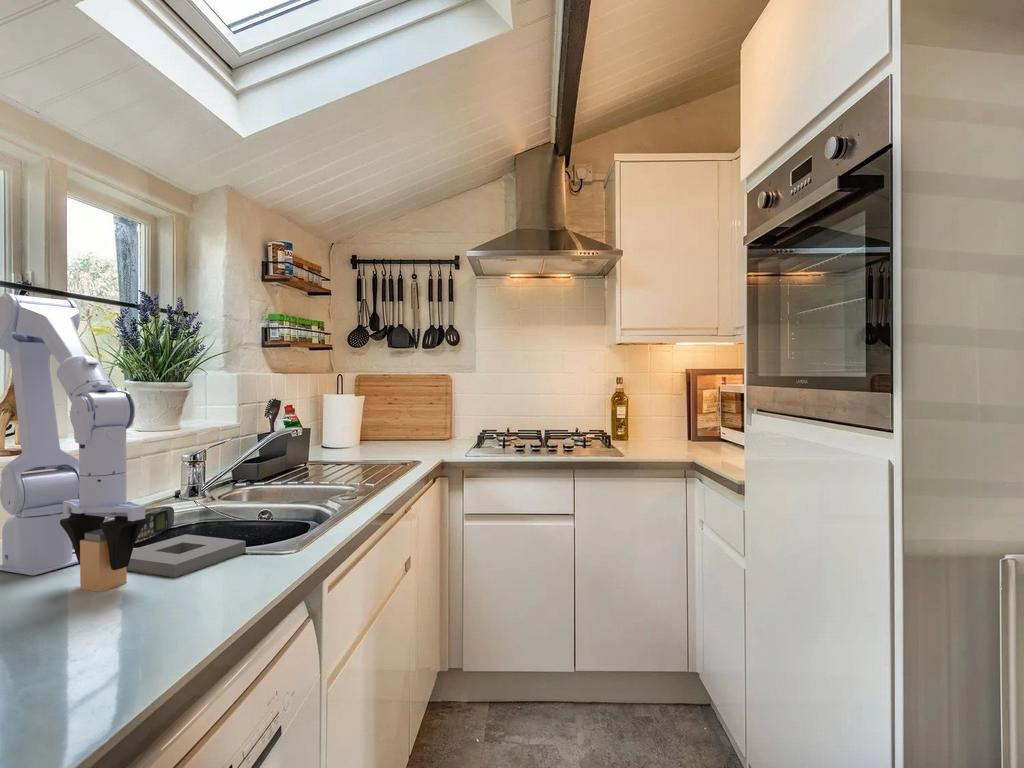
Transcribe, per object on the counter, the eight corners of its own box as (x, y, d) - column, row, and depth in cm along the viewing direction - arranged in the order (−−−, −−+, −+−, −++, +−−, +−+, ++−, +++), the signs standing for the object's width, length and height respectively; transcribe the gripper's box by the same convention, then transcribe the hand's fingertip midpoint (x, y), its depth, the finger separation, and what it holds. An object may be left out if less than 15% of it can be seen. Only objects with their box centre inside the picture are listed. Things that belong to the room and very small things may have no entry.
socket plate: (110, 568, 93) (110, 555, 93) (186, 545, 107) (185, 534, 107) (175, 577, 89) (175, 564, 89) (245, 552, 102) (245, 540, 102)
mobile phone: (126, 520, 107) (181, 502, 121) (110, 520, 107) (167, 501, 122) (126, 547, 107) (181, 525, 122) (111, 547, 107) (168, 525, 122)
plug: (80, 588, 84) (79, 533, 84) (107, 579, 88) (107, 527, 88) (99, 591, 83) (99, 535, 83) (126, 582, 87) (126, 529, 87)
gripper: (40, 474, 84) (41, 568, 84) (111, 480, 79) (111, 579, 79) (90, 468, 91) (90, 554, 91) (158, 472, 86) (158, 564, 86)
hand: (103, 565), depth 85 cm, fingers open, 6 cm apart
